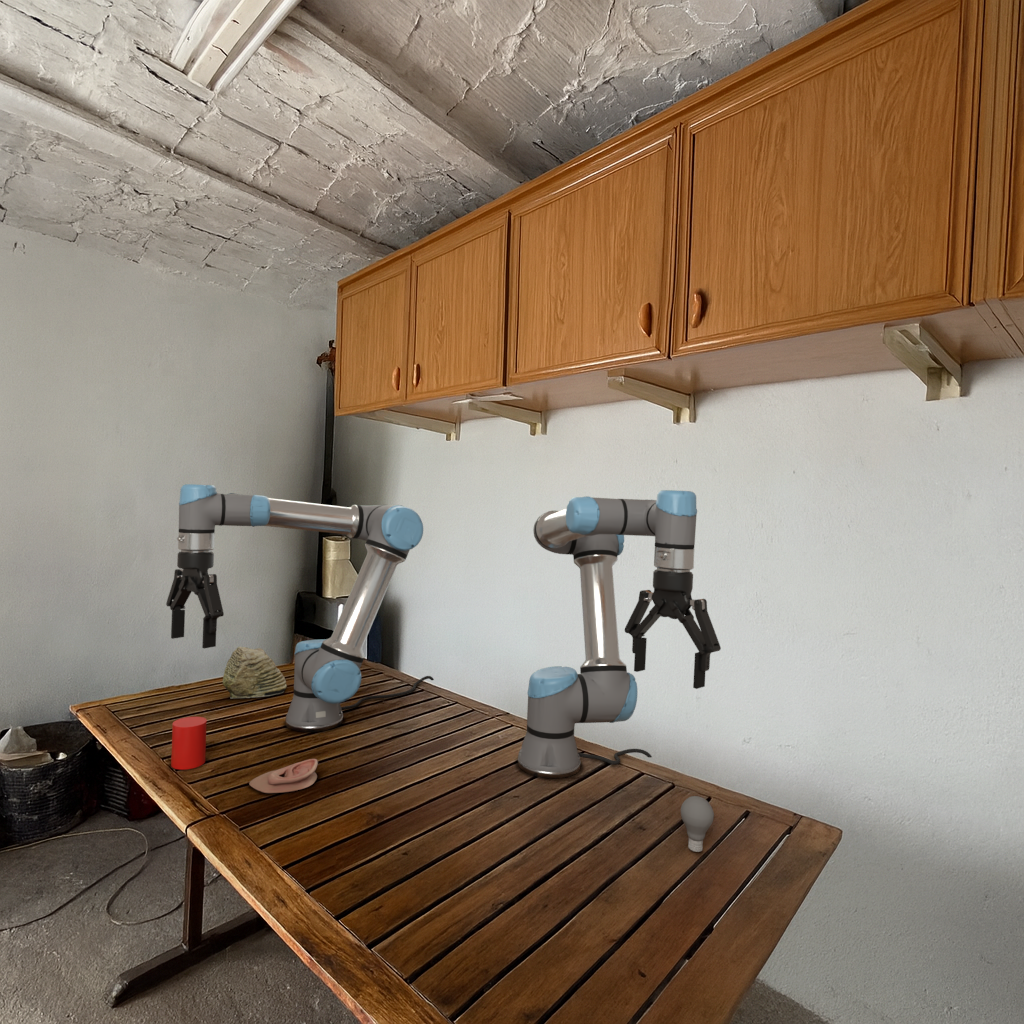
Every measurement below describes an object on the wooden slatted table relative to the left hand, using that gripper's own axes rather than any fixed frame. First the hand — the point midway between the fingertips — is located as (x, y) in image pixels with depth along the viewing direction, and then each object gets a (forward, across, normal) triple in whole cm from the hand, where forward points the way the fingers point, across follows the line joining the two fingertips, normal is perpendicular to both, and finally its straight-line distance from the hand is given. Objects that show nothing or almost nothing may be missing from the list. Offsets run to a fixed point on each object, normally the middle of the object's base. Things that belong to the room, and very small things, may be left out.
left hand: (192, 642), depth 147 cm
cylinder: (+28, 0, 0) cm, 28 cm away
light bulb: (+28, +106, +39) cm, 117 cm away
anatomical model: (+28, +25, +8) cm, 39 cm away
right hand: (-3, +99, +40) cm, 107 cm away
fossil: (+28, -33, +39) cm, 58 cm away
